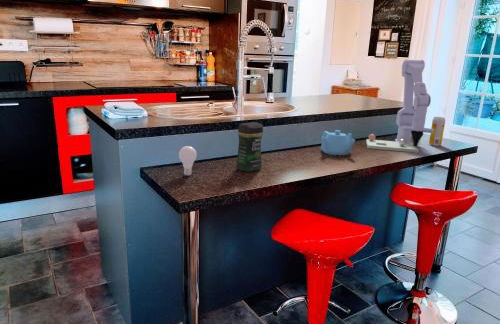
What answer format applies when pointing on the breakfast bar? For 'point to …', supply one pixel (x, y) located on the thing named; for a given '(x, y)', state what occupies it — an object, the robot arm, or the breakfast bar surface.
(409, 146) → the hole plate
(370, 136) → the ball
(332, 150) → the teapot
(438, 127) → the beer can
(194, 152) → the lightbulb
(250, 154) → the coffee jar
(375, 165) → the breakfast bar surface
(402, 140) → the steel ball
